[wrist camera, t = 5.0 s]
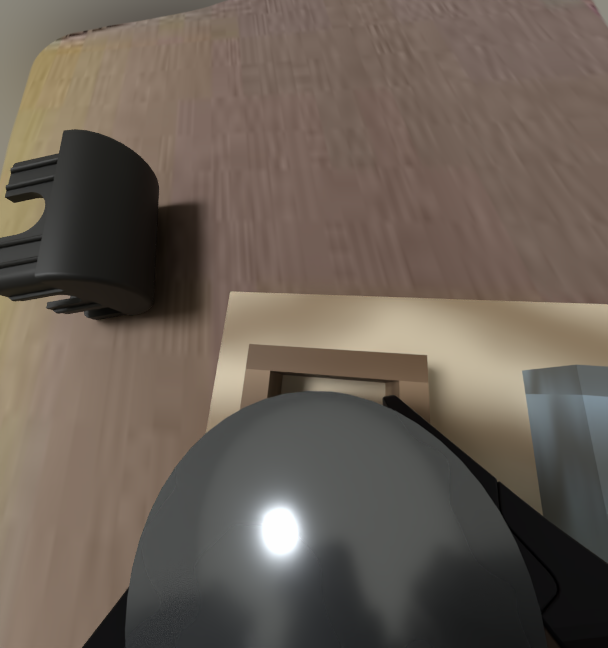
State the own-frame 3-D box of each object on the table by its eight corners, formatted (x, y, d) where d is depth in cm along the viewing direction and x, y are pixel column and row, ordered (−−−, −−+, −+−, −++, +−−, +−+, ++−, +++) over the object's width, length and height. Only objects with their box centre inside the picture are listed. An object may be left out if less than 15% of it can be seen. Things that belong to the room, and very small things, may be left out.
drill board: (845, 699, 10) (1251, 944, 5) (194, 571, 13) (129, 656, 9) (708, 317, 14) (878, 284, 10) (238, 299, 18) (207, 269, 13)
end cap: (178, 312, 18) (91, 268, 11) (90, 327, 19) (-41, 292, 12) (180, 202, 21) (111, 116, 14) (104, 217, 21) (3, 141, 15)
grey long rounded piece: (371, 485, 12) (603, 1054, 2) (285, 474, 13) (72, 847, 2) (372, 394, 13) (515, 407, 3) (293, 388, 14) (173, 378, 3)
